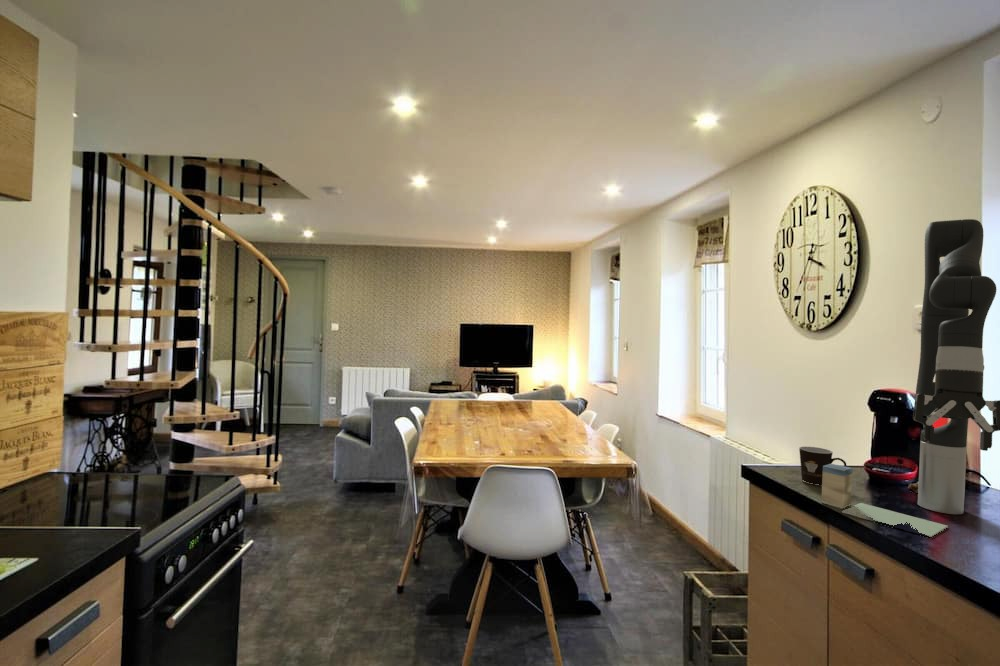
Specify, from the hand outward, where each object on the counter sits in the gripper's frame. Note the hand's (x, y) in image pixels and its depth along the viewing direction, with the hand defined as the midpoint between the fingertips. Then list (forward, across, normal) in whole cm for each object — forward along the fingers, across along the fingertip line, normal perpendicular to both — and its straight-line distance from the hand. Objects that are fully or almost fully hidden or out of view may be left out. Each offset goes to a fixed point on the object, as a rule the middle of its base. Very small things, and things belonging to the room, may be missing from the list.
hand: (956, 446), depth 107 cm
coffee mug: (+18, +22, -43) cm, 52 cm away
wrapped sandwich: (+17, -7, -52) cm, 56 cm away
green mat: (+20, +7, -19) cm, 29 cm away
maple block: (+20, +19, -24) cm, 37 cm away
